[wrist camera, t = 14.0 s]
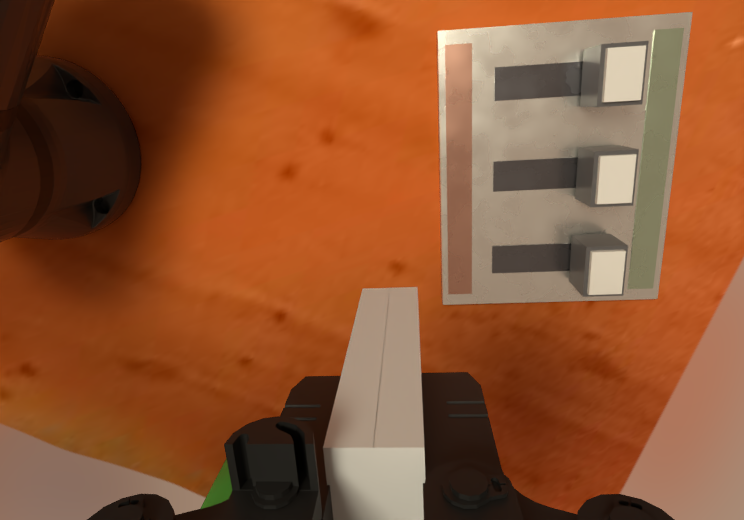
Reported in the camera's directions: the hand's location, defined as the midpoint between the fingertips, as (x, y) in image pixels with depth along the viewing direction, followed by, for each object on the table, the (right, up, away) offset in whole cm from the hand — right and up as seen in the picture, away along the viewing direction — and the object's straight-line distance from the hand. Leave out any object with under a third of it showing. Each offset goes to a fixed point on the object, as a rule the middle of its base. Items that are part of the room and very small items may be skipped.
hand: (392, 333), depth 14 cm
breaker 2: (+17, +9, +25) cm, 31 cm away
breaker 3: (+17, +2, +27) cm, 32 cm away
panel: (+14, +9, +27) cm, 32 cm away
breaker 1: (+16, +16, +23) cm, 32 cm away
